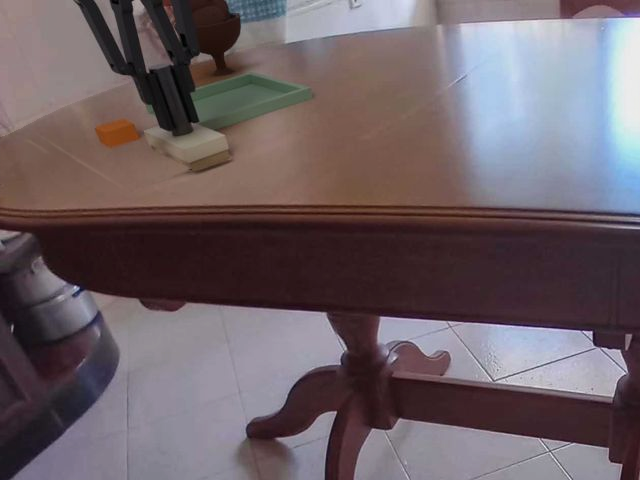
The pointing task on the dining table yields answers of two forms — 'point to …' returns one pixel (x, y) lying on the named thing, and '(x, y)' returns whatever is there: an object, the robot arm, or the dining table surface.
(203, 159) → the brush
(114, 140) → the eraser
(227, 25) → the ice cream bowl
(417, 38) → the dining table surface
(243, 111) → the tray
